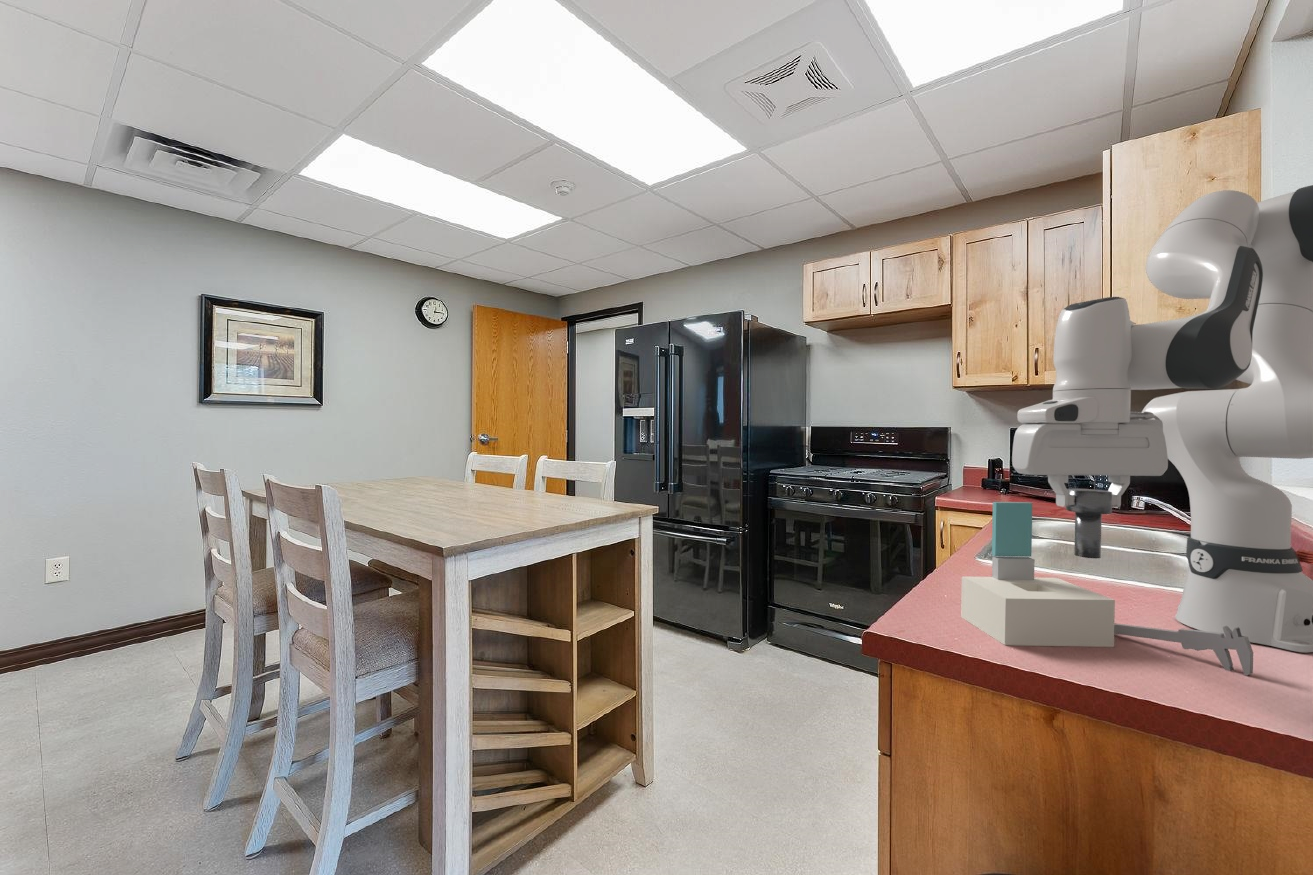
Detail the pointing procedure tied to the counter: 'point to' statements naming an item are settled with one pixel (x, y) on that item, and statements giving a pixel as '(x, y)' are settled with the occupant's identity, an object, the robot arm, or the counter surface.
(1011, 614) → the block
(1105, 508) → the pin
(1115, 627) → the caliper
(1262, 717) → the counter surface
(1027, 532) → the block
